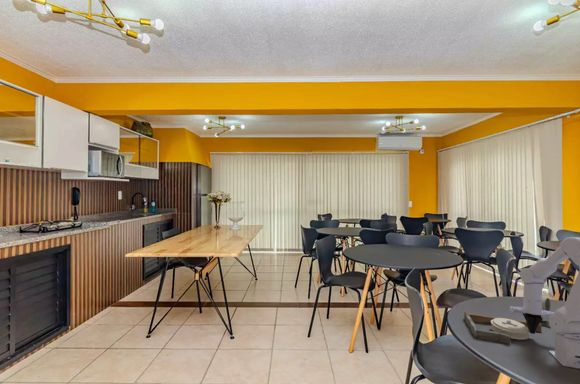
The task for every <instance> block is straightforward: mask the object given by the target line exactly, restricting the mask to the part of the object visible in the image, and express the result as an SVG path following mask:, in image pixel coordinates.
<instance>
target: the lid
mask: <svg viewBox="0 0 580 384" xmlns="http://www.w3.org/2000/svg"><path fill="white" fill-rule="evenodd" d="M506 318H507V317H502V318H495V319H493V320H491V324H490V330H491V331H493V332H500V333H503V334H506V335H510V336H511V339H513V340H514V339H515V340H528V339H529V338H530V335H529V333H530V332H529V329H528V328H527V327H526V326H525V325H523V324H522V323H520V322H517V321H514V320H511V319H512V318H509V319H506Z"/></svg>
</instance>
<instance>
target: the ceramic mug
mask: <svg viewBox="0 0 580 384" xmlns="http://www.w3.org/2000/svg"><path fill="white" fill-rule="evenodd" d="M542 310H546V311H551V300H550V298H549V297H547V296H542Z"/></svg>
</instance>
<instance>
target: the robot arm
mask: <svg viewBox="0 0 580 384" xmlns="http://www.w3.org/2000/svg"><path fill="white" fill-rule="evenodd" d="M568 259H571V261H572V262H573V263H574V265H577V266H578V267H579V268H580V237H576V236H575V237H574V236H568V237H565V238H564V239H563V240H562V241H560V242H559V246H558V248H556V249H555V250H554V251H553V252H552V253H551V254H550V255H549V256H547V258H545V257H542V258H540V257H539V258H538V259H537V261H536V262H535V263H534V264H532V265H530V267H528V268H525V267H524V268H522V269H521V270H520V272H519V277H520V280H521V281H522V282H523V297H522V298H523V301H522V302H523V303H522V304H523V305H522V306H513V305H512V306H509V312H510V313H513V314H514V313H515V314H522V315H523V317H524V319H525V320H524V321H526V322H527V325H528V329H529V332H528V333H530V334H532V335H535V334H536V332H537V331H536V329H537V327H538V325H539V324H540V322H541V321H543V317H542V316H545V317H544V318H546V317H549V318H548V322H549V324H550V328H551V330H552V331H553V332H554V350H548V351H549V352H548V353H550V355H552V357H554V359H556V360H557V362H558V363H560V364H561V366H563V367H567V368H573V369H580V269H579V270H578V272H577V275H576V277H575V279H574V283H573V284H572V287H571V289H570V291H569V294H568V296H567V299H566V300H565V302H564V305H563V306H562V307H559V308H557V309H555V310H554V311H551V310H550V311H546V310H542V297H543V289H544V287H545V283H546V282H547V280H548V277H549V276H551V275H552V274H554V273H555V272H556V271H557V269H558V265H560V264H561V263H563V262H565V261H566V260H567V261H568Z"/></svg>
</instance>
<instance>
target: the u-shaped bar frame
mask: <svg viewBox="0 0 580 384" xmlns="http://www.w3.org/2000/svg"><path fill="white" fill-rule="evenodd" d="M463 315H464V321H465V322H466V324H467V327H468V328H469V330H470V331H471V333H472V335H473V337H474V338H475V339H481V340H482V339H483V340H487V341H494V342H498V341H499V342H502V343H503V342H504V344H506V343H507V345H509V344H510V343H511V339H512V338H511V336H510V335H506V334H503V333H500V332H494V331H493V330H487V329H486V330H485V329H479V328H478V327H477V326H476V324H475V323H479V324H486V325H491V320H493V319H495V318H503V317H500V316H493V315H486V314H480V313H472V312H464V314H463ZM505 318H506V319H511V320H514V321H517V322H520V323H522V324H523V325H525V326H526V327H527V328H528V325H527V322H526V320H524V319H523V320H521V319H515V318H507V317H505ZM535 332H540V333H541V332H542V325H541V324H539V325H538V327H537V329H536V331H535ZM510 345H511V344H510Z"/></svg>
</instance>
